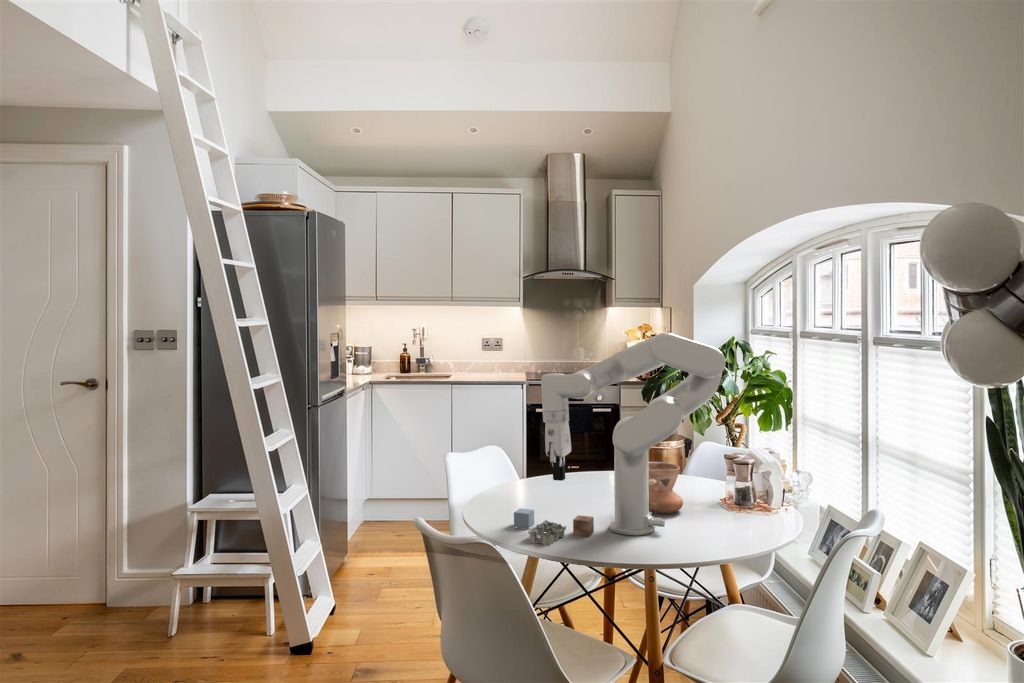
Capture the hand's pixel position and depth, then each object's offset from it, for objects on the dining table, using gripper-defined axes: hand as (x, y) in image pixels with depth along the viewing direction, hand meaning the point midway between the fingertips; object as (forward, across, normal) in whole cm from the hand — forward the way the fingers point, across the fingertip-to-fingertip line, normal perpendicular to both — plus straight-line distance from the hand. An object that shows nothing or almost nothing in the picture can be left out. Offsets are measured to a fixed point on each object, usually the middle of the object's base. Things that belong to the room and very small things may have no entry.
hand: (559, 479), depth 184 cm
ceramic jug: (+15, +26, -24) cm, 38 cm away
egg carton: (+14, -12, 0) cm, 18 cm away
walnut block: (+14, -5, -8) cm, 17 cm away
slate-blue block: (+13, -4, +10) cm, 17 cm away
